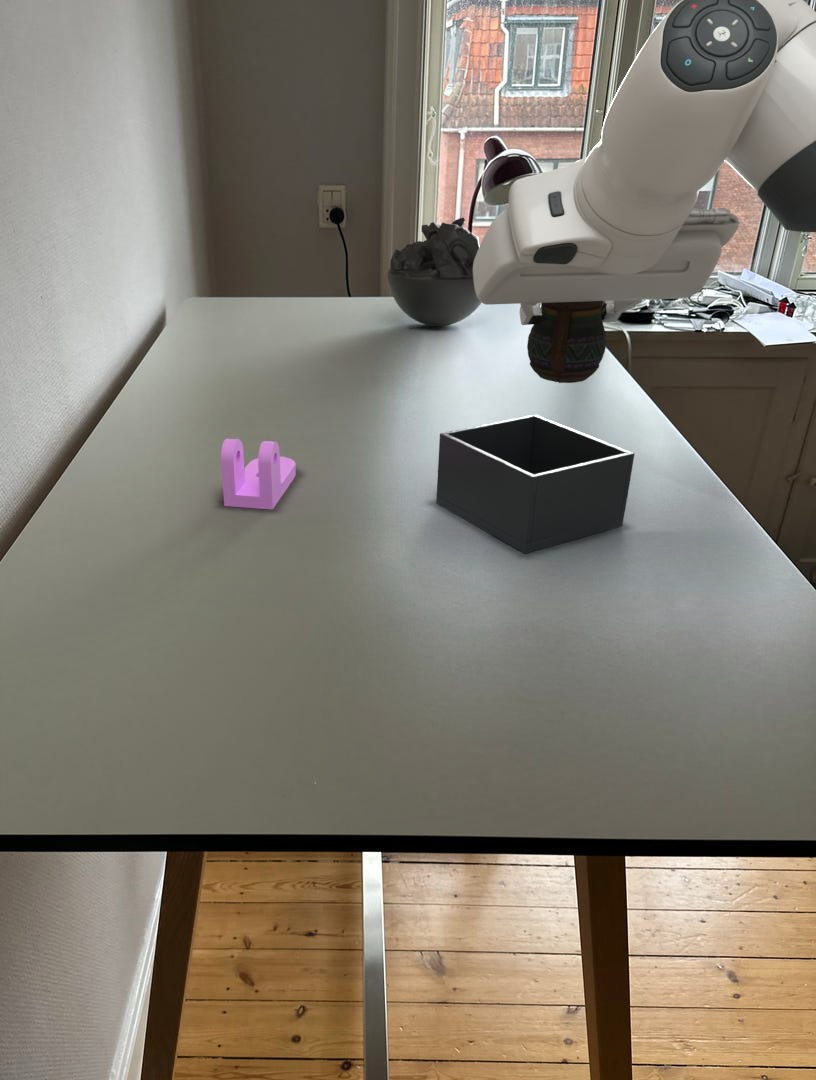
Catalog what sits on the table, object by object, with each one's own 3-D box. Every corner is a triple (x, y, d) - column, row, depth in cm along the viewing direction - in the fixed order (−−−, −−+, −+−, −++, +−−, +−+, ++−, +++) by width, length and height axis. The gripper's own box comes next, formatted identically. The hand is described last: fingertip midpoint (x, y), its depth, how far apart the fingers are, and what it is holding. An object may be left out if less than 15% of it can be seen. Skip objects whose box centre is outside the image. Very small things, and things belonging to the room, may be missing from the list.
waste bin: (528, 481, 108) (535, 414, 104) (622, 526, 96) (634, 453, 92) (435, 503, 102) (439, 433, 98) (524, 554, 91) (532, 477, 87)
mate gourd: (596, 391, 83) (612, 273, 78) (513, 383, 86) (524, 269, 80) (606, 371, 89) (622, 261, 84) (528, 365, 91) (539, 257, 86)
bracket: (272, 509, 101) (270, 448, 97) (224, 505, 102) (219, 445, 98) (300, 468, 112) (299, 412, 108) (256, 465, 113) (253, 409, 109)
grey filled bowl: (421, 341, 168) (425, 229, 159) (367, 320, 184) (369, 218, 174) (509, 329, 176) (519, 222, 167) (451, 310, 191) (457, 212, 182)
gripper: (741, 176, 73) (667, 284, 87) (492, 181, 71) (456, 290, 85) (757, 244, 72) (679, 343, 85) (503, 250, 70) (464, 351, 83)
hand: (566, 317), depth 85 cm, fingers closed on mate gourd, 6 cm apart
